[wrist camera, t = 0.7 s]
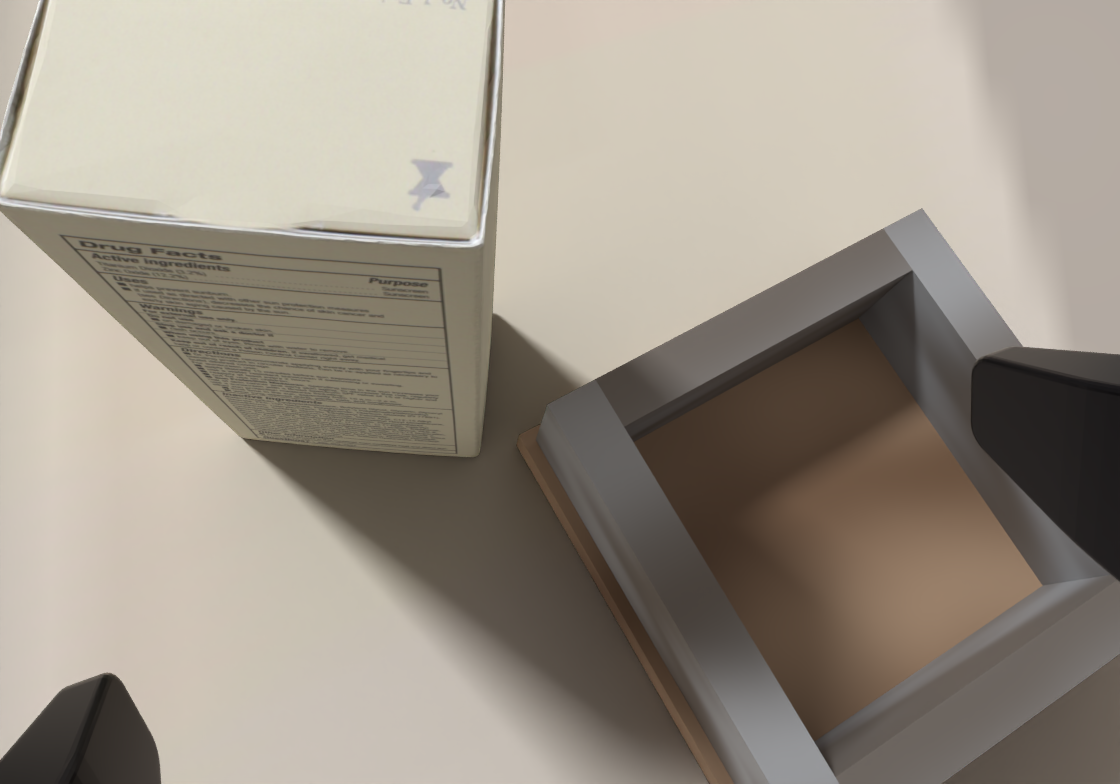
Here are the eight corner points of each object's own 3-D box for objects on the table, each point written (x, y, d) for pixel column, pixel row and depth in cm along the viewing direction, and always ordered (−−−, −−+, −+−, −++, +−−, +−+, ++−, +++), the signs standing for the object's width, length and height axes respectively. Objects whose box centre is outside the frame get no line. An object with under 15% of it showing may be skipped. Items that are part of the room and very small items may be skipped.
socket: (1096, 611, 23) (1221, 598, 20) (751, 856, 21) (816, 896, 17) (855, 264, 26) (924, 192, 22) (516, 445, 23) (527, 399, 19)
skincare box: (494, 305, 24) (528, -35, 13) (479, 468, 23) (502, 254, 11) (253, 282, 24) (56, -97, 12) (223, 447, 22) (-31, 199, 11)
